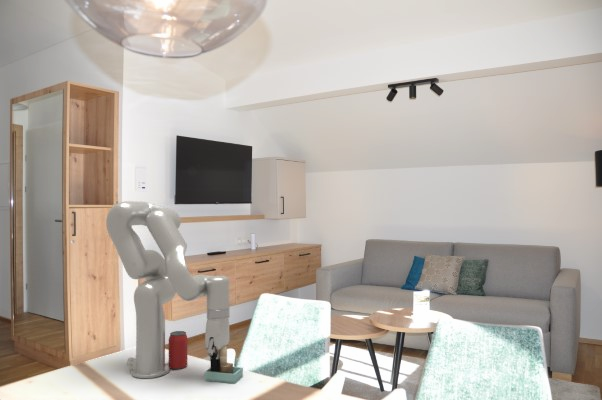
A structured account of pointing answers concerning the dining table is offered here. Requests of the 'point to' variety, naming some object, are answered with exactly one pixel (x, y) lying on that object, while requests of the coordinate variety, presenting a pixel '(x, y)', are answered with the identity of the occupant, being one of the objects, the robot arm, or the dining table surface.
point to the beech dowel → (223, 356)
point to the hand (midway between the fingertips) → (218, 367)
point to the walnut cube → (226, 368)
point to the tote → (224, 375)
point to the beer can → (178, 350)
